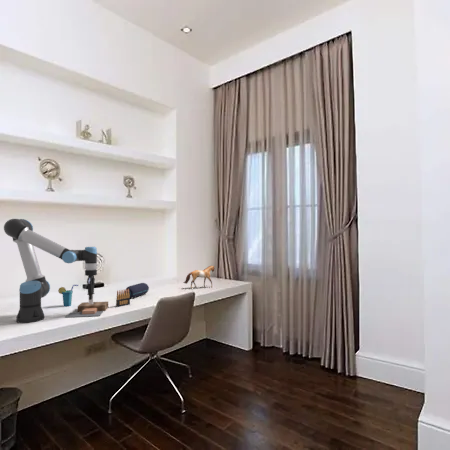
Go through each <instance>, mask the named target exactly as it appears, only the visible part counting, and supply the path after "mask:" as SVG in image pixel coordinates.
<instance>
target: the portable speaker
mask: <svg viewBox="0 0 450 450" xmlns="http://www.w3.org/2000/svg"><path fill="white" fill-rule="evenodd" d="M126 289H127V291H128V289H129V298H130V299H133V298H137V297H139V296H144V295H145V294H147V293H148V292H149V290H150V287H149V285H148V284H147V283H145V282H140V283H136V284H133V285H129V286H126V288H125V289H124V290H125V291H126Z"/></svg>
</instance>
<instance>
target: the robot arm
mask: <svg viewBox="0 0 450 450" xmlns="http://www.w3.org/2000/svg"><path fill="white" fill-rule="evenodd" d="M33 226H34V225H33V224H32V223H31V222H30V221H28V219H24V218H12V219H8V220H6V222H5V223H4V225H3V231H4V233H5V234H6V235H7V236H9V237H10V238H11V239H12V241H13V243H16V245H17V248H18V252H19V256H20V259H21V262H22V265H23V269H24V271H25V276H26V279H25V281H24V282H22V283H20V285H19V291H18V292H19V309H18V313H17V316H16V318H15V320H16V322H17V323H22V324H23V323H24V324H25V323H26V324H27V323H35V322H38V321H42V320H44V319H45V313H44V311H43V307H42V298H45V297H46V296H47V295H48V293H50V290H51V284H50V283H49V281H48V280H47V279H46V276H45V275H44V274H42V272H41V271H42V270H41V268H40V265H39V261H38V258H37V254H36V251H35V248H38V249H39V250H42V251H43V252H46V253H48V254H50V255H52V256H53V257H56V258H58V259H60V260H62V262H64V263H65V264H72V263H75V262H84V269H85V270H84V276H88V277H87V281H86V284H87V296H88V302H89V304H93V302H94V295H95V293H96V292H95V280H96V279H95V276H97V275H98V250H97V247H96V246H86V247H84V249H69V248H67V247H65V246H63V245H61V244H58V243H57V242H55V241H53V240H51V239H49V238H47V237H44V236H43V235H41V234H39V233H37V232H34V227H33Z"/></svg>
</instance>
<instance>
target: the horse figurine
mask: <svg viewBox="0 0 450 450" xmlns="http://www.w3.org/2000/svg"><path fill="white" fill-rule="evenodd" d="M211 272H212V274H214V273H215V265H209V266H207V267H206V268H204V269H203V270H201V269H200V270H199V269H195V270H193V271H191V272H189V273H187V275H186V276H185V277H186V278H185V280H184V282H183V283H184V284H186V285H187V284H188V283H189V281H190V279H191V278H192V280H191V281H190V282H191V283H190V289H191V288H193V287H194V288H195V287H196V288H197V284H196V283H195V281H196V280H197V278H201V279H202V278H203V287H204V288H205V286H206V279H207V280H209V283H210V284H211V285H210V287H211V288H213V281H212V279H211ZM193 285H194V286H193Z"/></svg>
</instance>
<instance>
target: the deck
mask: <svg viewBox="0 0 450 450" xmlns="http://www.w3.org/2000/svg"><path fill="white" fill-rule="evenodd" d="M85 308H97V311H103V312H105V311H107V309H108V308H109V301H93V304H89V301H87V302H80V304H78V305H77V312H82V311H83V310H84V309H85Z"/></svg>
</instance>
